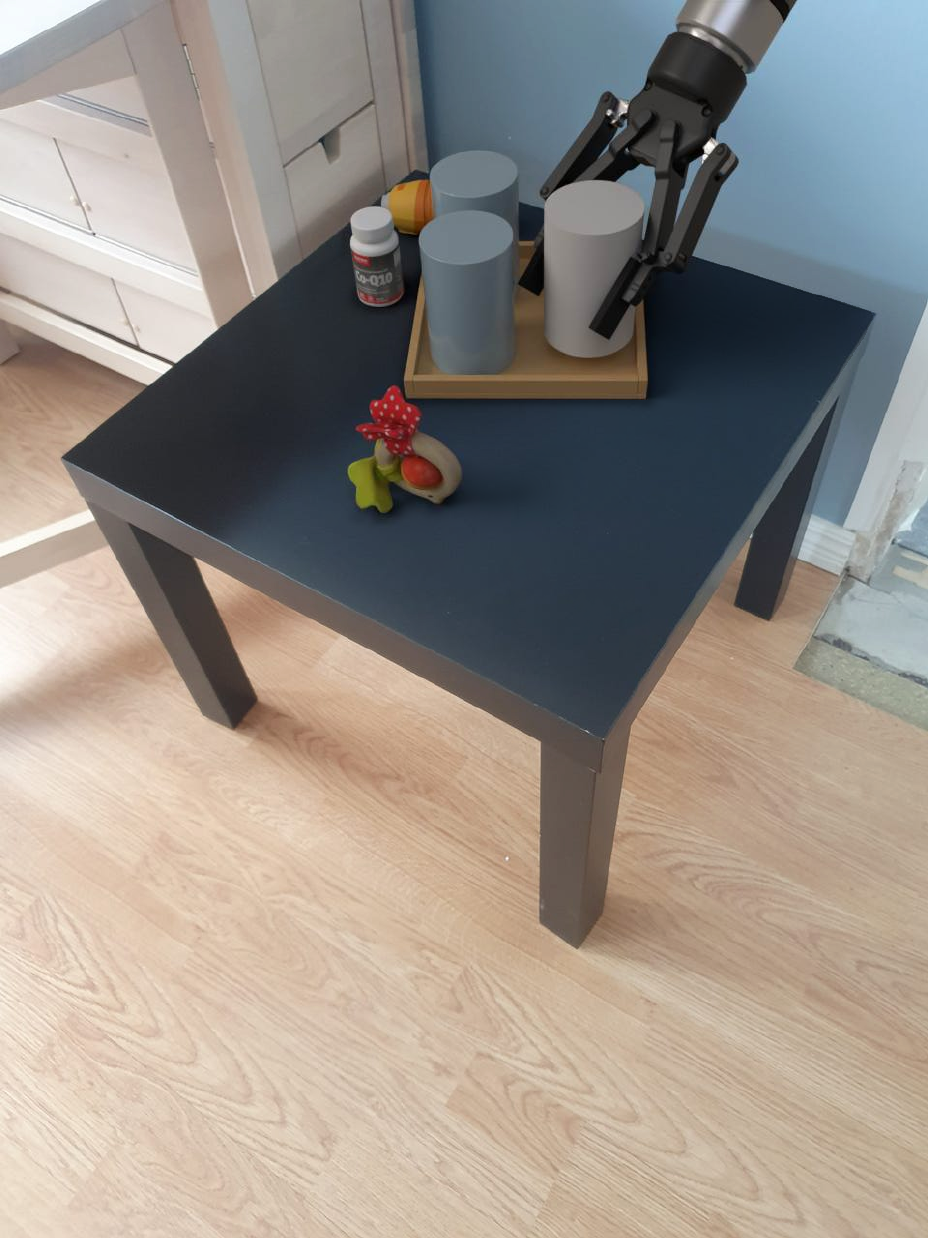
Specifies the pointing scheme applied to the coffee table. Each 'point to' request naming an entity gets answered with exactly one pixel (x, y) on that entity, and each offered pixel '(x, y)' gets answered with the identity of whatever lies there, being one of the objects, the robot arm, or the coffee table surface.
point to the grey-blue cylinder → (479, 190)
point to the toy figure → (410, 206)
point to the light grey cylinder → (588, 262)
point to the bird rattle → (423, 462)
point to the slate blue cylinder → (469, 292)
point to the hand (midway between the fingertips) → (562, 311)
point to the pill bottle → (376, 257)
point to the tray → (531, 361)
